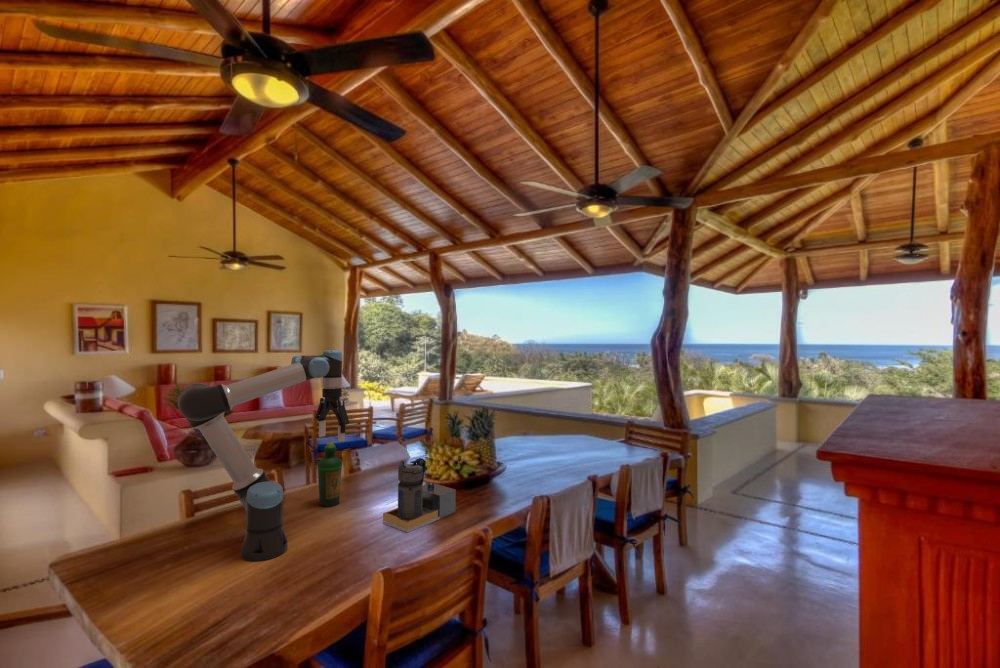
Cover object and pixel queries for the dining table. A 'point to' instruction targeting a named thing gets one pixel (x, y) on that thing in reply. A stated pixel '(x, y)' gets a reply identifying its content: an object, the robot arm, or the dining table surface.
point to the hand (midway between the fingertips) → (331, 438)
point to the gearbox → (426, 508)
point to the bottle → (329, 476)
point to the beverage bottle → (410, 489)
